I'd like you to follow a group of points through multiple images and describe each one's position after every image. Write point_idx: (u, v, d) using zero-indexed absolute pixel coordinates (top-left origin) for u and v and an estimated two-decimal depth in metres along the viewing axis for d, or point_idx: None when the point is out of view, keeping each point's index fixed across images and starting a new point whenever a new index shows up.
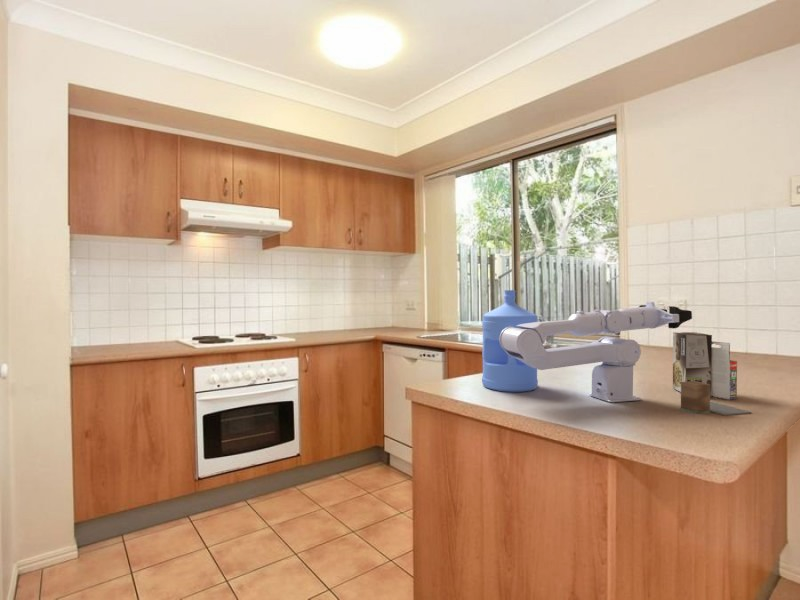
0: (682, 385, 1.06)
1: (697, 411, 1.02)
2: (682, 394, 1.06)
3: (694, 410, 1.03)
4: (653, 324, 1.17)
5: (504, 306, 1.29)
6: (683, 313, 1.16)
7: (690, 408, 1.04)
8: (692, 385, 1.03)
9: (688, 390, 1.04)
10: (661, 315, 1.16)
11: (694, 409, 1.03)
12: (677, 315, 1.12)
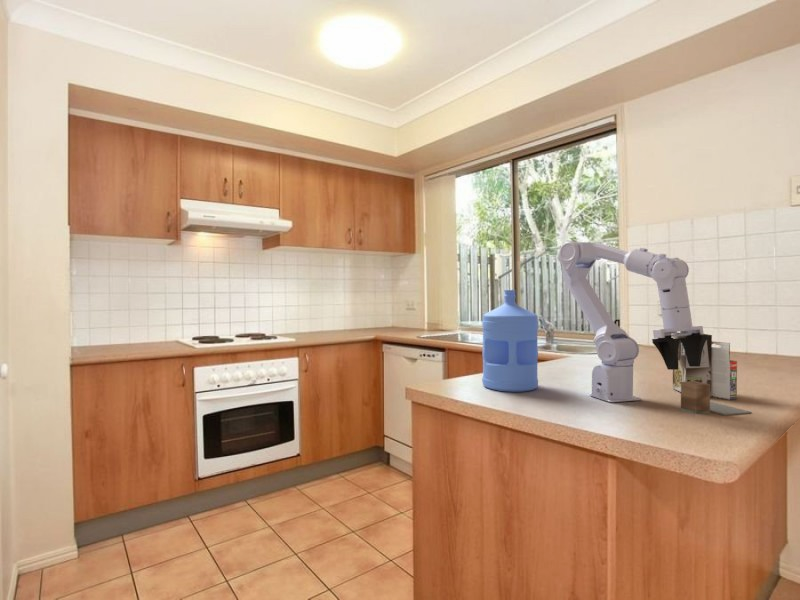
0: (682, 385, 1.06)
1: (697, 411, 1.02)
2: (682, 394, 1.06)
3: (694, 410, 1.03)
4: (663, 323, 1.05)
5: (504, 306, 1.28)
6: (672, 357, 1.01)
7: (690, 408, 1.04)
8: (692, 385, 1.03)
9: (688, 390, 1.04)
10: None
11: (694, 409, 1.03)
12: (660, 335, 1.00)
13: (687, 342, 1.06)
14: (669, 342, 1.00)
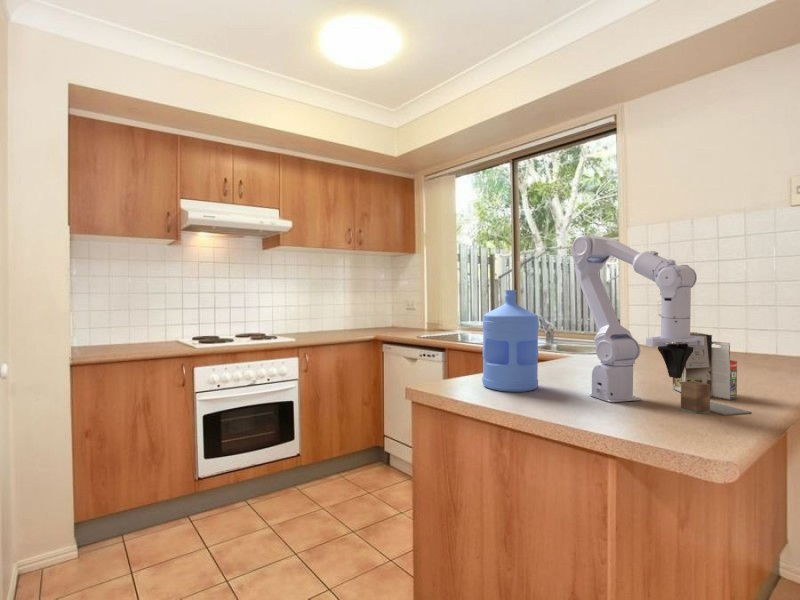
0: (682, 385, 1.06)
1: (697, 411, 1.02)
2: (682, 394, 1.06)
3: (694, 410, 1.03)
4: (661, 331, 1.04)
5: (505, 306, 1.28)
6: (674, 365, 1.02)
7: (690, 408, 1.04)
8: (692, 385, 1.03)
9: (688, 390, 1.04)
10: None
11: (694, 409, 1.03)
12: (651, 344, 1.00)
13: None
14: (672, 351, 1.01)
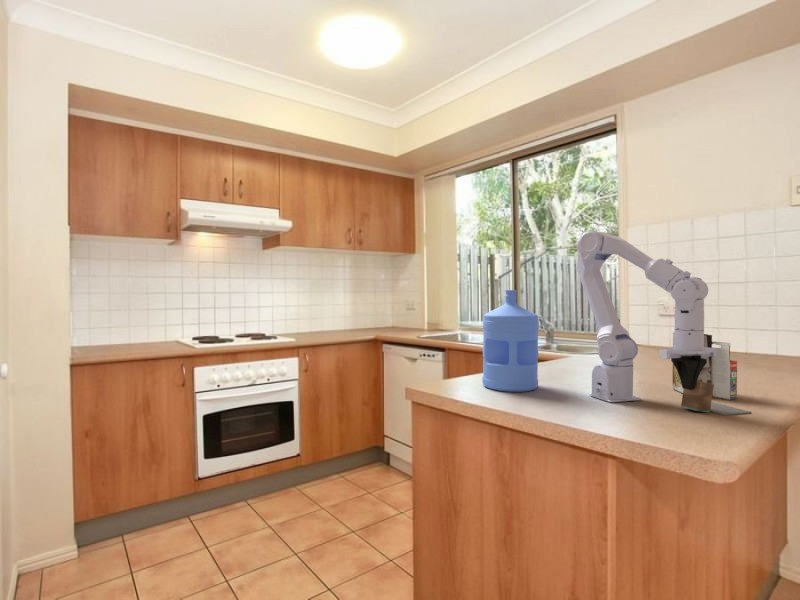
0: None
1: (697, 408, 1.02)
2: (684, 391, 1.06)
3: (695, 407, 1.03)
4: (674, 343, 1.05)
5: (505, 306, 1.28)
6: (688, 377, 1.03)
7: (691, 405, 1.04)
8: None
9: None
10: None
11: (695, 406, 1.03)
12: (665, 356, 1.01)
13: None
14: (686, 363, 1.02)
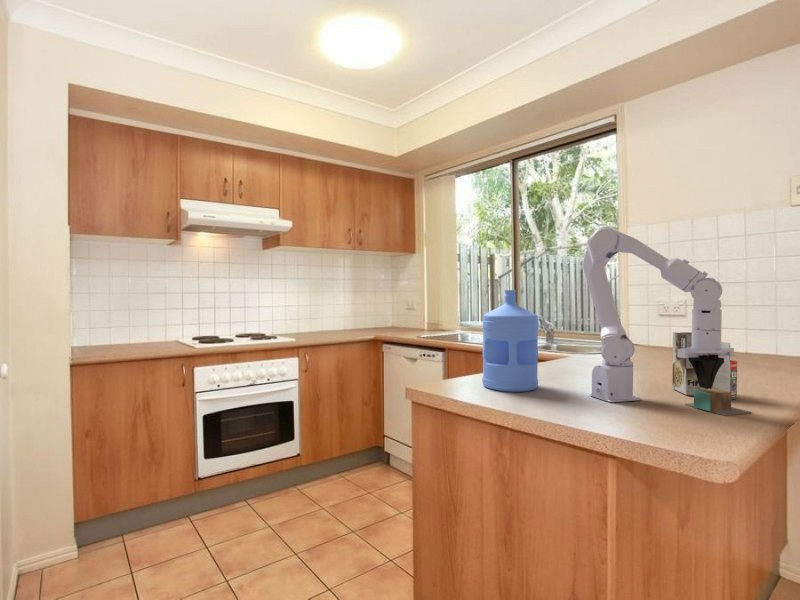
0: None
1: (711, 395, 1.03)
2: (707, 389, 1.08)
3: (710, 393, 1.04)
4: None
5: (504, 306, 1.29)
6: (705, 376, 1.04)
7: (706, 392, 1.05)
8: (726, 391, 1.06)
9: (718, 390, 1.06)
10: None
11: (711, 393, 1.04)
12: (683, 356, 1.03)
13: None
14: (704, 362, 1.03)
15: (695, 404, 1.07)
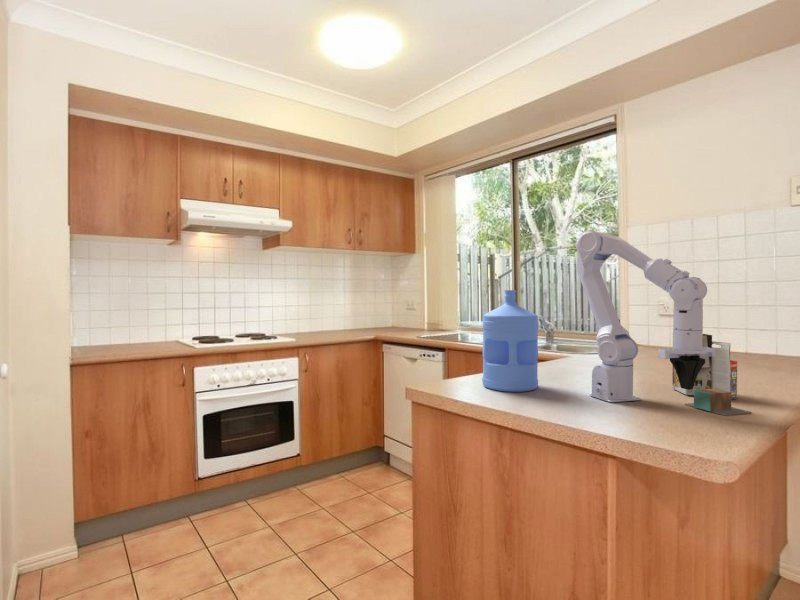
0: None
1: (711, 395, 1.03)
2: (707, 389, 1.08)
3: (710, 393, 1.04)
4: (673, 343, 1.05)
5: (505, 306, 1.29)
6: (686, 377, 1.03)
7: (706, 392, 1.05)
8: (726, 391, 1.06)
9: (718, 390, 1.06)
10: None
11: (711, 393, 1.04)
12: (664, 356, 1.01)
13: None
14: (685, 363, 1.02)
15: (695, 404, 1.07)
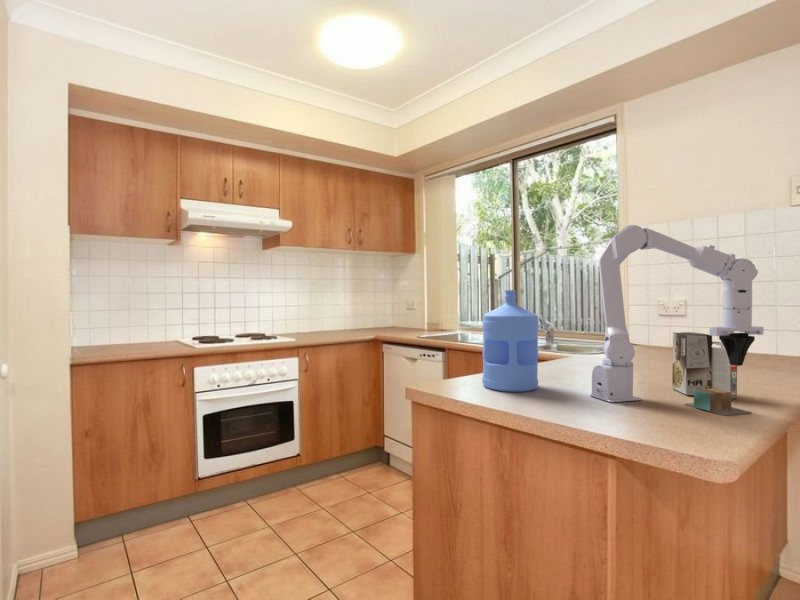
0: None
1: (711, 395, 1.03)
2: (707, 389, 1.08)
3: (710, 393, 1.04)
4: (722, 321, 1.10)
5: (505, 306, 1.28)
6: (736, 353, 1.08)
7: (706, 392, 1.05)
8: (726, 391, 1.06)
9: (718, 390, 1.06)
10: None
11: (711, 393, 1.04)
12: (716, 333, 1.06)
13: (733, 341, 1.10)
14: (735, 340, 1.07)
15: (695, 404, 1.07)
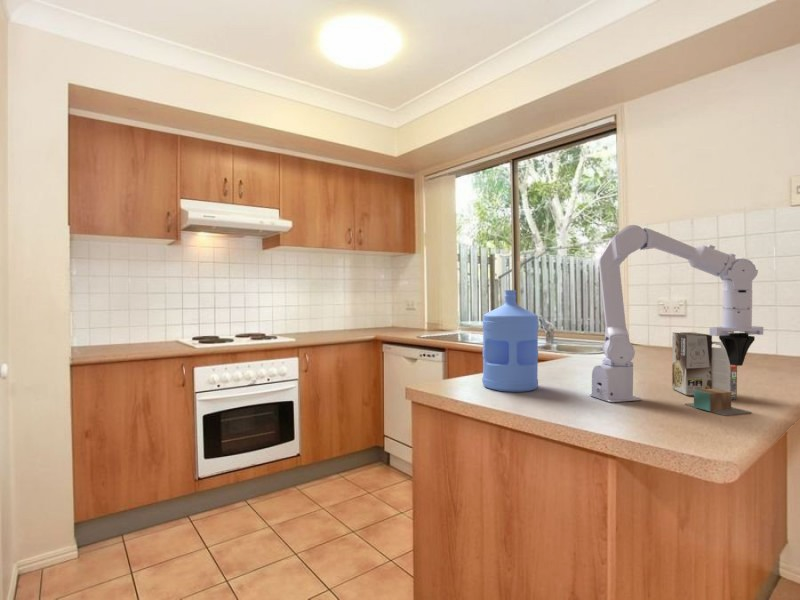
0: None
1: (711, 395, 1.03)
2: (707, 389, 1.08)
3: (710, 393, 1.04)
4: (722, 321, 1.10)
5: (505, 306, 1.29)
6: (736, 353, 1.08)
7: (706, 392, 1.05)
8: (726, 391, 1.06)
9: (718, 390, 1.06)
10: None
11: (711, 393, 1.04)
12: (716, 333, 1.06)
13: (733, 341, 1.10)
14: (735, 340, 1.07)
15: (695, 404, 1.07)
